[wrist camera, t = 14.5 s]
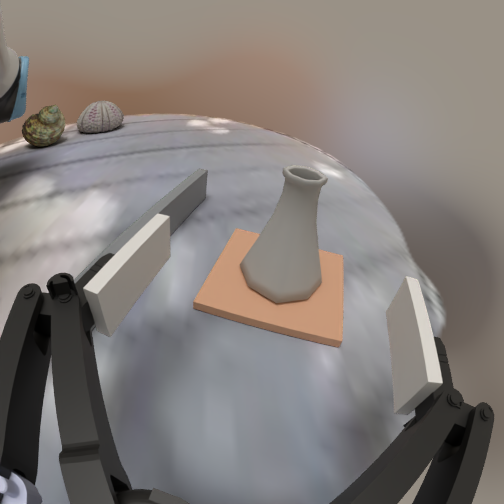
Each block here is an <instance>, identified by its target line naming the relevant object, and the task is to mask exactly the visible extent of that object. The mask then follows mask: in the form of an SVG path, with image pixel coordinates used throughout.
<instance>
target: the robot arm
mask: <svg viewBox="0 0 504 504" xmlns="http://www.w3.org/2000/svg"><path fill="white" fill-rule="evenodd" d="M28 65H29V58H28V57H23V56H21V57H18V56H17V54H16V52H15V51H14V50H13V49H11V48H9V47H7V45H6V39H5V33H4V27H3V20H2V12H1V4H0V123H3V122H10V121H11V120H13V119H16V118H19V117H21V116H22V115H23V114H24V113H25V110H26V90H27V76H28ZM169 258H170V216H167V215H163V214H156V215H155V216H154V217H153V218H152V219H151V220H150V221H149V222H148V223H147V224H146V225H145V226H144V227H143V228H142V229H141V230H140V231H138V232H137V233H136V234H135V235H134V236H133V237H132V238H131V239H130V240H129V241H128V242H127V243H126V244H125V245H124V246H123V247H122V248H121V249H120V250H119V251H118V252H117V253H116V254H112V253H108V254H106V255H104V256H102V257H101V258H100V259H99V260H98V261H97V262H96V263H95V264H94V265H93V266H92V267H91V268H90V269H89V270H88V271H87V272H86V273H85V274H84V275H83V276H82V277H81V278H80V279H79V280H78V281H77V282H76V283H74V279H73V277H72V276H71V275H70V274H68V273H59V274H56V275H54V276H53V277H51V278H50V279H49V280H48V282H47V285H46V286H47V289H48V291H49V293H42V292H41V289H40V287H39V286H38V285H37V284H33V283H32V284H27V285H25V286H24V287H22V288H21V289H20V291H19V292H18V294H17V296H16V299H15V301H14V304H13V306H12V309H11V311H10V314H9V316H8V319H7V321H6V324H5V327H4V330H3V333H2V335H1V338H0V504H41V503H42V497H41V496H40V494H39V492H38V490H37V488H36V487H35V482H36V476H37V469H38V452H39V436H40V424H41V415H42V406H43V399H44V392H45V386H46V380H47V374H48V368H49V363H50V358H51V355H52V374H53V386H54V396H55V405H56V413H57V420H58V426H59V432H60V438H61V443H62V451H61V453H60V454H59V462H60V467H61V471H62V475H63V479H64V483H65V487H66V490H67V494H68V497H69V501H70V504H189V503H188V502H186V501H185V500H183V499H181V498H179V497H176V496H173V495H170V494H168V493H165V492H163V491H160V490H158V489H155V488H153V490H146V489H135V490H132V487H131V484H130V482H129V479H128V477H127V474H126V472H125V470H124V469H123V467H122V465H121V462H120V460H119V457H118V453H117V450H116V447H115V443H114V440H113V436H112V433H111V429H110V425H109V422H108V418H107V413H106V409H105V405H104V401H103V396H102V391H101V386H100V381H99V376H98V370H97V364H96V358H95V352H94V345H93V337H92V332H91V327H92V326H93V325H94V324H95V326H96V329H97V331H98V332H100V333H102V334H104V335H106V336H109V337H111V336H112V334H113V333H114V332H115V330H116V329H117V327H118V326H119V325H120V323H121V322H122V320H123V319H124V318H125V316H126V315H127V313H128V312H129V311H130V309H131V308H132V307H133V305H134V304H135V303H136V301H137V300H138V298H139V297H140V296H141V294H142V293H143V292H144V290H145V289H146V288H147V286H148V285H149V284H150V282H151V281H152V280H153V279H154V277H155V276H156V275H157V273H158V272H159V271H160V269H161V268H162V267H163V266H164V264H165V263H166V262H167V260H168V259H169ZM386 317H387V325H388V333H389V343H390V353H391V364H392V378H393V396H394V414H404V415H408V414H410V413H411V412H412V411H413V410H414V409H415V414H416V416H415V417H414V418H412V419H411V420H410V421H408V422H407V423H406V424H405V425H403V426H404V427H405V428H404V429H403V430H402V432H401V433H400V434H399V435H398V436H397V438H396V439H395V440H394V441H393V442H392V443H391V444H390V446H389V447H388V448H387V449H386V450H385V451H384V452H383V453H382V454H381V455H380V457H379V458H378V459H377V460H376V461H375V462H374V463H373V464H372V465H371V466H370V467H369V468H368V469H367V470H366V471H365V472H364V473H363V474H362V475H361V476H360V477H359V478H358V479H357V480H356V481H355V482H354V483H352V484H351V485H350V486H349V487H348V488H347V489H346V490H345V491H344V492H343V493H341V494H340V495H339V496H338V497H337V498H336V499H334V500H333V501H332V502H331V503H330V504H397V503H398V502H399V501H400V500H401V499H402V497H403V496H404V495H405V494H406V493H407V492H408V490H409V489H410V488H411V487H412V485H413V484H414V483H415V482H416V480H417V479H418V478H419V476H420V475H421V474H422V472H423V471H424V470H425V468H426V467H427V466H428V464H429V463H430V461H431V460H432V458H433V460H432V462H431V465H430V467H429V469H428V472H427V474H426V476H425V479H424V481H423V483H422V485H421V487H420V489H419V491H418V493H417V495H416V497H415V499H414V501H413V503H412V504H472V501H473V498H474V496H475V493H476V489H477V487H478V483H479V480H480V477H481V474H482V470H483V467H484V463H485V459H486V455H487V451H488V447H489V443H490V438H491V433H492V428H493V422H494V413H493V410H492V408H491V407H490V406H489V405H488V404H487V403H484V402H482V403H480V404H478V405H477V406H476V407H473V406H471V405H469V404H466V403H464V400H463V397H462V395H461V394H460V393H459V391H457V390H456V389H454V388H453V383H452V377H451V372H450V368H449V364H448V359H447V357H446V356H447V354H446V350H445V346H444V345H443V343H442V341H441V339H440V338H438V337H433V333H432V329H431V325H430V321H429V317H428V313H427V309H426V306H425V302H424V299H423V295H422V292H421V289H420V285H419V282H418V279H414V278H410V277H407V276H406V277H405V279H404V281H403V283H402V285H401V287H400V288H399V290H398V292H397V294H396V296H395V297H394V299H393V301H392V303H391V304H390V306H389V308H388V310H387V311H386Z"/></svg>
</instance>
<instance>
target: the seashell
mask: <svg viewBox="0 0 504 504" xmlns="http://www.w3.org/2000/svg"><path fill="white" fill-rule="evenodd" d="M64 127H65V118H64V116H63V114H62V113H61V111H60V110H59V108H58V106H56V105H53V106H46V107H44V108H43V109H42V110H41V111H40V112H39V114H35V115H32V116H31V117H29V118H28V119H27V120H26V121H25V123H24V125H23V129H22V134H23V137H24V138H25V140H26V141H27V142H28V143H30V144H32V145H34V146H42V147H43V146H48V145H50V144H52V143H54V142H56V141H57V140H58V139H59V138H60V136H61V135H62V133H63V131H64Z"/></svg>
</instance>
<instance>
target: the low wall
mask: <svg viewBox="0 0 504 504" xmlns="http://www.w3.org/2000/svg"><path fill="white" fill-rule="evenodd" d="M207 173H208V170H204V169H198V170H197V171H195V172H194V173H193V174H192V175H190V176H189V177H188V178H187V179H185V180H184V181H183V182H182V183H180V184H179V185H178V186H177V187H175V188H174V189H173V190H172V191H170V192H169V193H168V194H167V195H166V196H164V197H163V198H162V199H161V200H160V201H158V202H157V203H156V204H155V205H154V206H153V207H151V208H150V209H149V210H148V211H147V212H146V213H144V214H143V215H142V216H141V217H140V218H139V219H138V220H136V221H135V222H134V223H133V224H132V225H131V226H130V227H129V228H127V229H126V230H125V231H124V232H123V233H122V234H121V235H120V236H119V237H118V238H117V239H115V240H114V241H113V242H112V243H111V244H110V245H109V246H108V247H107V248H106V249H105V250H104V251H103V252H102V253H101V254H100V255H99V256H98V257H96V258H95V259H94V260H93V261H92V262H91V263H90V264H89V265H88V266H87V267H86V268H85V269H84V270H83V271H82V272H81V273H80V274H79V275H78V276H77V277H76V278H75V279H74V283H76V282H77V281H78V280H79V279H80V278H81V277H82V276H83V275H84V274H85V273H86V272H87V271H88V270H89V269H90V268H91V267H92V266H93V265H94V264H95V263H96V262H97V261H98V260H99V259H100V258H101V257H102V256H104V255H106V254H108V253H112V254H116V253H117V252H118V251H119V250H120V249H121V248H122V247H123V246H124V245H125V244H126V243H127V242H128V241H129V240H130V239H131V238H132V237H133V236H134V235H135V234H136V233H137V232H138V231H140V230H141V229H142V228H143V227H144V226H145V225H146V224H147V223H148V222H149V221H150V220H151V219H152V218H153V217H154V216H155V215H156V214H163V215H167V216H170V236H171V235H172V233H173V232H174V231H175V230H176V229H177V228H178V227H179V226H180V225H181V223H182V222H183V221H184V220H185V219H186V218H187V217H188V216H189V215H190V214H191V213H192V212H193V210H194V209H195V208H196V207H197V206H198V205H199V204H200V203H201V202H202V201H203V200H204V199H205V198H206V185H207ZM94 327H95V324H94V325H93V326H92V327H91V331H92V330H93V328H94Z"/></svg>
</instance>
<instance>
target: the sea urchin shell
mask: <svg viewBox="0 0 504 504" xmlns="http://www.w3.org/2000/svg"><path fill="white" fill-rule="evenodd" d="M123 116H124V115H123V113H122V111H121V110H120V109H119V108H118V107H117V106H116V105H115V104H113V103H111V102H108V101H98V102H95V103H92V104H91V105H89V106H88V107H86V109H85V110H84V111H83V112H82V114H81V115H80V116H79V119H78V120H77V128H78V129H79V131H81V132H84V133H85V132H86V133H99V132H106V131H108V130H113V129H114V128H117V127H118V126H120V124H122V121H123V119H124V117H123Z"/></svg>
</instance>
